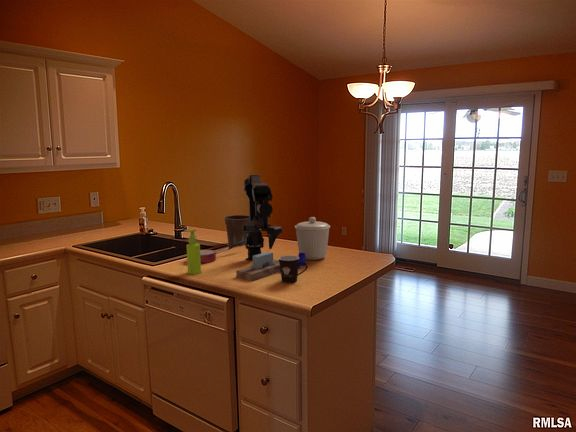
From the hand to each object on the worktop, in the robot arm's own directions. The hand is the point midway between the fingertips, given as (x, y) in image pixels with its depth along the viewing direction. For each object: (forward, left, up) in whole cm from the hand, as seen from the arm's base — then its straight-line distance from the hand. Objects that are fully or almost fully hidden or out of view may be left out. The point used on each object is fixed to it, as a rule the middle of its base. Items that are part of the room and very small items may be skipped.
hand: (262, 247), depth 195 cm
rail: (0, 0, -12) cm, 12 cm away
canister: (+2, +35, -12) cm, 37 cm away
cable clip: (+7, +16, -12) cm, 21 cm away
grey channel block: (0, 0, -12) cm, 12 cm away
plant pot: (-54, +37, -12) cm, 67 cm away
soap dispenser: (-26, -19, -12) cm, 34 cm away
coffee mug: (+19, -3, -12) cm, 22 cm away
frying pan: (-40, +8, -12) cm, 43 cm away
